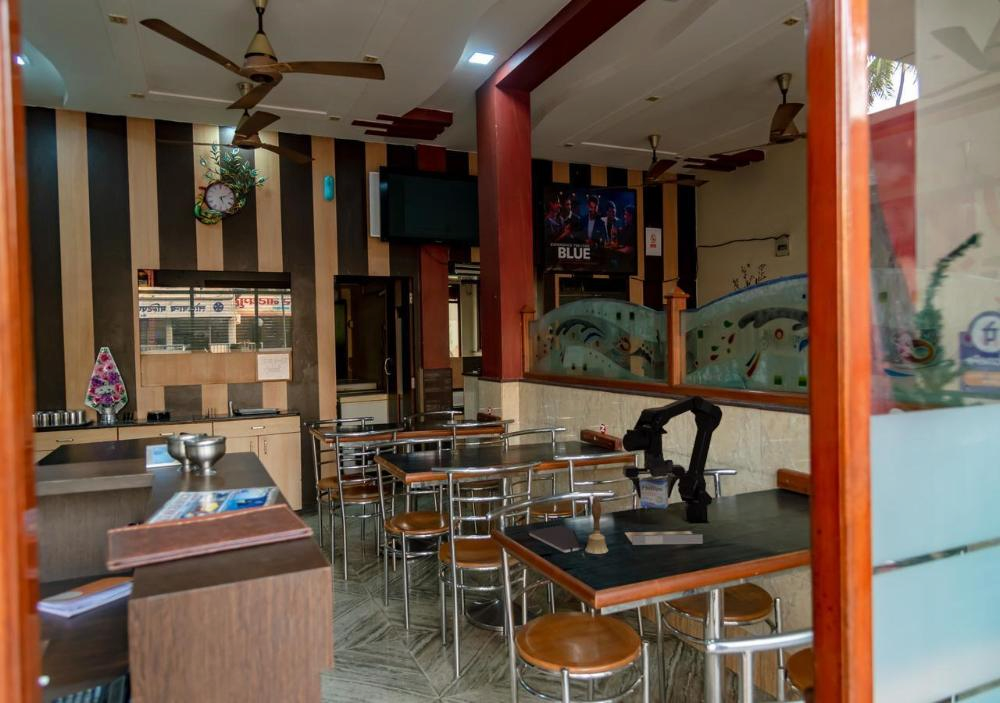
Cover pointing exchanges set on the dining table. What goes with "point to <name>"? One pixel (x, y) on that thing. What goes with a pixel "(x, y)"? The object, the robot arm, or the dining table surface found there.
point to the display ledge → (655, 534)
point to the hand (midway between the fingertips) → (654, 498)
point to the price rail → (667, 539)
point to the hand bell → (596, 532)
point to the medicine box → (654, 492)
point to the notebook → (558, 538)
